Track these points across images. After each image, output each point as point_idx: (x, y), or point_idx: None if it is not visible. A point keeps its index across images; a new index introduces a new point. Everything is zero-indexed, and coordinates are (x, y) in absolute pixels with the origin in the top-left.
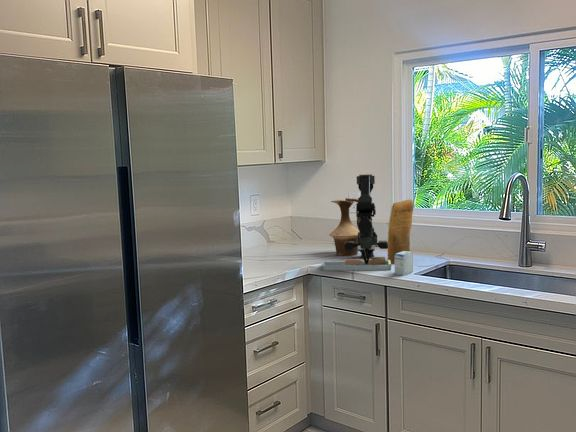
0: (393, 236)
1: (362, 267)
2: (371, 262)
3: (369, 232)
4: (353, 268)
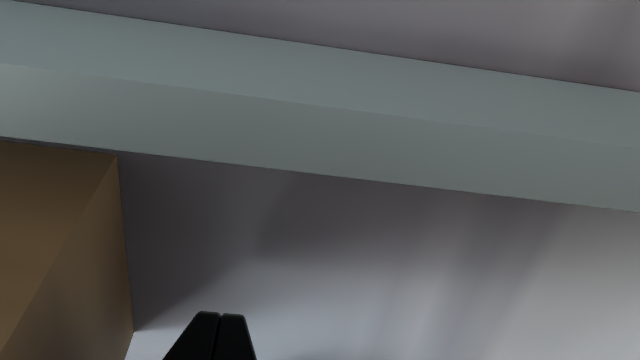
0: None
1: (365, 84)
2: (43, 273)
3: None
4: (614, 109)
